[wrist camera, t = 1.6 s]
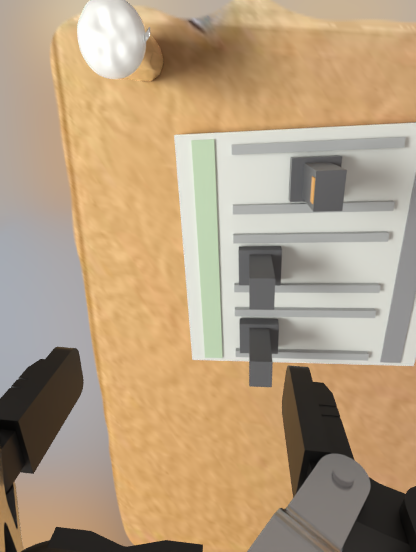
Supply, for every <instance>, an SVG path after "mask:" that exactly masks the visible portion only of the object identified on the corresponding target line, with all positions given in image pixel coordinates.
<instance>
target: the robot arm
mask: <svg viewBox="0 0 416 552" xmlns="http://www.w3.org/2000/svg"><path fill="white" fill-rule="evenodd" d="M82 389H83V375H82V369H81V362H80V356H79V351H78V350H77V349H76V348H65V347H56V348H54V349H53V351H52V352H51V353H50V354H49V355H48V357H47V358H46V359H40V360H39V361H37V362H35V363H34V364H32V365H31V366H29V367H28V368H27V369H26V370H25V371H24V372H23V374H22V375H21V376H20V377H19V379H18V380H16V382H15V383H14V384H13V385H12V387H11V388H9V389H8V391H7V392H6V393H5V394H4V395H3V396H2V397H1V398H0V552H203V545H201V544H193V543H185V542H176V541H168V540H164V541H158V542H153V543H147V544H141V545H135V546H129V547H125V546H121V545H119V544H117V543H115V542H113V541H111V540H109V539H107V538H104V537H102V536H100V535H98V534H96V533H94V532H92V531H86V530H78V529H70V528H61V527H56V528H55V531H54V533H53V535H52V537H51V539H50V540H49V541H45V542H42V543H39V544H35V545H33V546H31V547H28V548H26V549H24V548H23V543H22V538H21V530H20V520H19V511H18V501H17V492H16V485H15V479H16V478H17V476H18V475H19V473H20V472H23V473H33V474H34V472H35V470H36V468H37V467H38V465H39V463H40V462H41V460H42V459H43V457H44V455H45V454H46V452H47V450H48V449H49V447H50V445H51V444H52V442H53V440H54V439H55V437H56V435H57V433H58V432H59V430H60V428H61V426H62V425H63V424H64V422H65V420H66V419H67V417H68V415H69V414H70V412H71V410H72V408H73V407H74V405H75V403H76V402H77V400H78V398H79V397H80V395H81V392H82ZM282 416H283V423H284V431H285V439H286V446H287V454H288V462H289V469H290V477H291V484H292V492H293V499H292V501H291V502H290V504H289V505H288V506H287V508H286V509H283V508H280V509H279V510H278V511H276V513H275V514H274V515H273V516H272V518H271V519H270V521H269V522H268V523H267V525H266V526H265V528H264V529H263V530H262V532H261V533H260V535H259V536H258V537H257V539H256V540H255V542H254V543H253V544H252V546H251V547H250V548H249V550H248V551H247V552H416V486H415V487H412V488H410V489H409V490H408V491H407V493H406V494H404V493H402V492H399V491H397V490H394V489H391V488H389V487H386V486H384V485H382V484H379V483H377V482H376V481H374V480H372V479H371V478H370V477H368V475H367V473H366V471H365V470H364V469H363V468H362V466H361V465H360V464H358V463H357V462H356V461H355V460H354V457H353V455H352V452H351V448H350V445H349V442H348V439H347V436H346V433H345V430H344V427H343V424H342V421H341V419H340V415H339V412H338V409H337V406H336V402H335V399H334V396H333V394H332V392H331V391H330V390H329V389H328V388H327V387H326V385H325V384H324V383H319V382H313V381H312V377H311V373H310V370H309V368H308V367H300V366H287V370H286V377H285V383H284V390H283V397H282Z"/></svg>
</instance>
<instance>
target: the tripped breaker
mask: <svg viewBox="0 0 416 552" xmlns="http://www.w3.org/2000/svg"><path fill="white" fill-rule="evenodd" d="M341 165H342V156H340V155H328V156H304V157H290V176H289V198H288V199H289V201H290V202H306V203H307V204H308V206H309V207H310V208H311V210H312V211H313V212H324V211H342V210H343V201H344V192H345V183H346V174H347V170H346V169H344V168H342V167H341Z"/></svg>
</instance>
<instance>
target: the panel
mask: <svg viewBox="0 0 416 552" xmlns="http://www.w3.org/2000/svg"><path fill="white" fill-rule="evenodd" d="M174 138H175V151H176V163H177V175H178V187H179V200H180V212H181V224H182V237H183V249H184V261H185V274H186V286H187V298H188V310H189V323H190V335H191V347H192V360H219V361H249V386H254V387H272V362H290V363H326V364H362V365H397V366H414V363H415V358H416V122H414V123H395V124H375V125H356V126H336V127H316V128H297V129H277V130H258V131H238V132H219V133H199V134H179V135H174ZM328 155H340V156H342V165H341V167H342V168H344V169H346V170H347V174H346V183H345V192H344V201H343V210H342V211H324V212H313V211H312V210H311V208H310V207H309V206H308V204H307V203H306V202H290V201H289V199H288V198H289V176H290V157H304V156H328Z"/></svg>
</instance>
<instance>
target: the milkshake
mask: <svg viewBox="0 0 416 552" xmlns="http://www.w3.org/2000/svg"><path fill="white" fill-rule="evenodd" d="M77 35H78V43H79V47H80V50H81V53H82V55H83V57H84V59H85V61H86V62H87V64H88V65H89V66H90V68H91V69H92V70H93V71H94V72H96V73H97V74H98V75H100V76H102V77H105V78H108V79H129V80H136V81H152V80H153V79H155V78H156V77H157V76H158V75H159V74H160V73H161V70H162V66H163V62H164V60H163V56H162V53H161V49H160V46H159V45H158V44H157V42H156V41H155V39H154V38H153V36H152V35H151V34H150V27H149V28H148V29H147V28H146V26H145V25H144V23H143V21H142V19H141V18H140V16H139V14H138V13H137V11H136V10H135V9H134V8H133V7H132V6H131V5H130V4H129V3H128V2H127V1H125V0H90V1H89V2H88V3H87V4H86V5H85V7H84V9H83V11H82V14H81V16H80V18H79V21H78V25H77Z"/></svg>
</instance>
